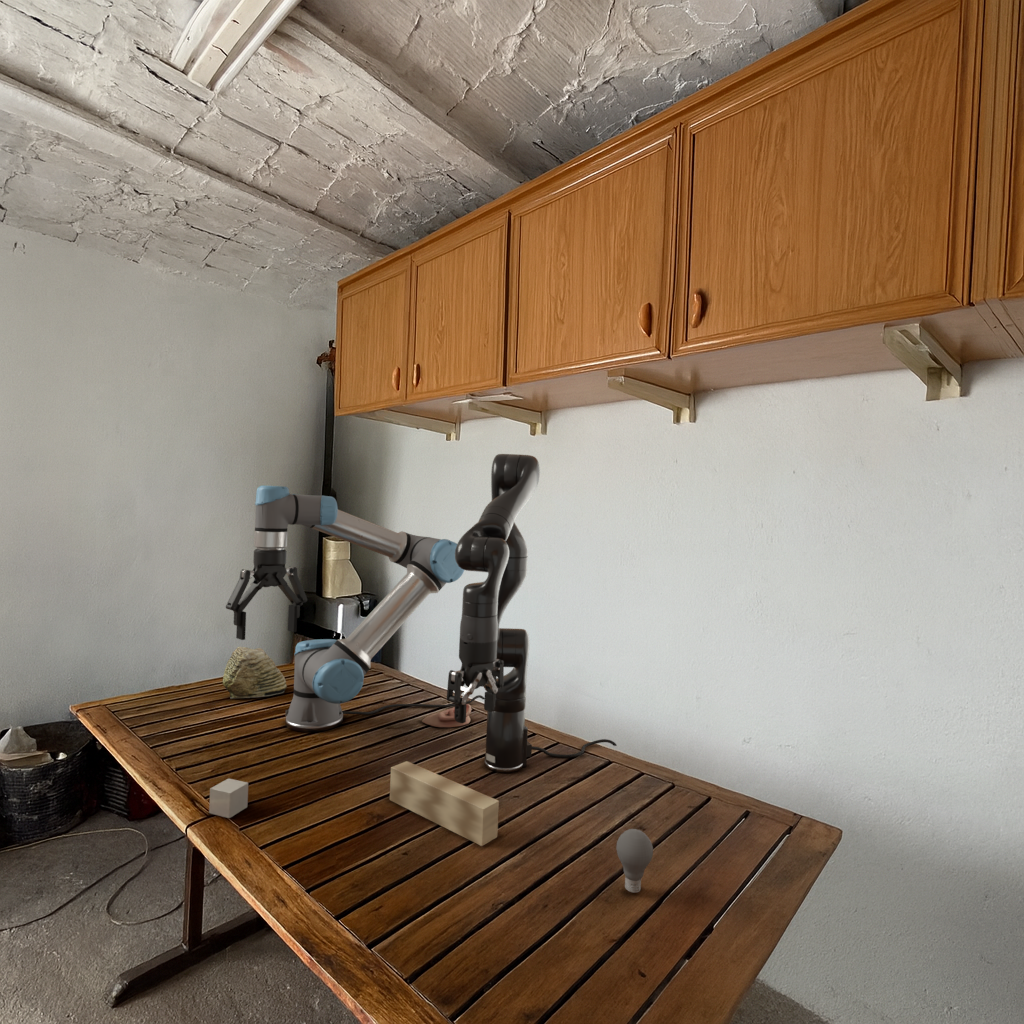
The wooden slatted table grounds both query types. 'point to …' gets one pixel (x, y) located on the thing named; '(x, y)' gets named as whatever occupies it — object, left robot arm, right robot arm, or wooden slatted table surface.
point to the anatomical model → (446, 718)
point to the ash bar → (445, 802)
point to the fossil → (252, 674)
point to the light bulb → (634, 857)
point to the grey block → (228, 798)
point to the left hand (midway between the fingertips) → (267, 635)
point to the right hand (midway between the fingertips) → (475, 716)
